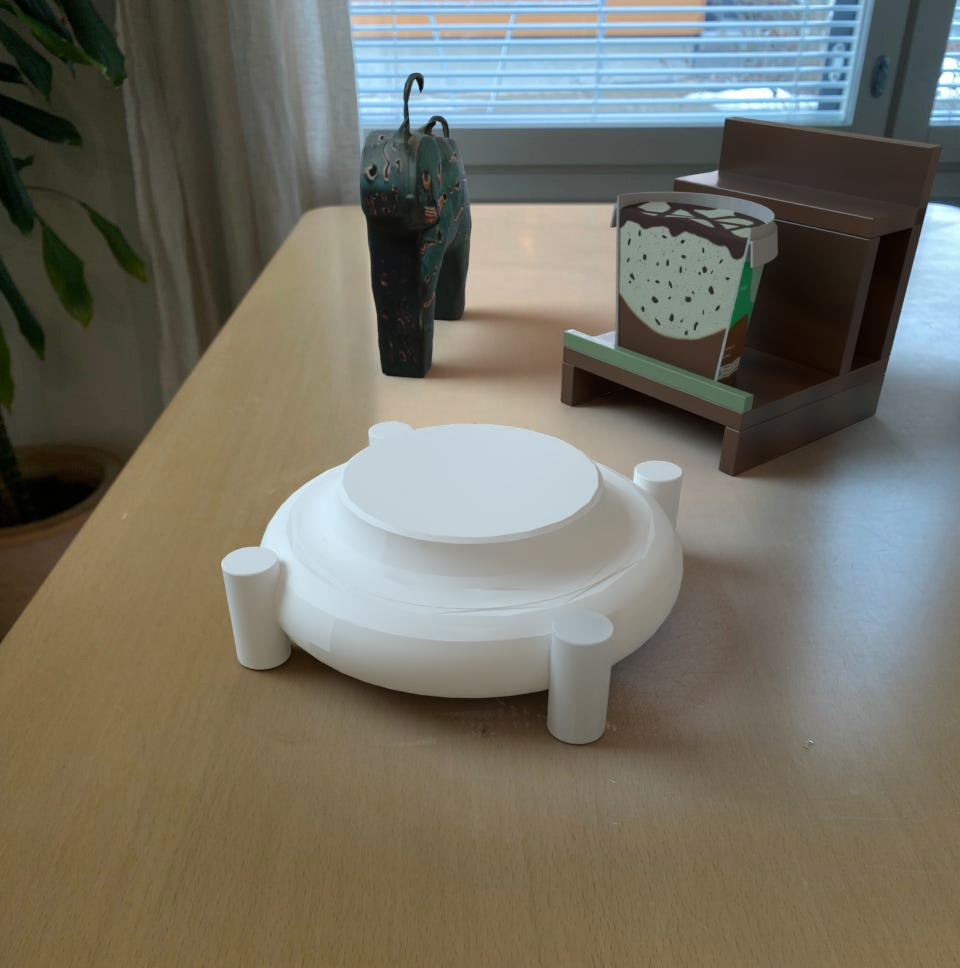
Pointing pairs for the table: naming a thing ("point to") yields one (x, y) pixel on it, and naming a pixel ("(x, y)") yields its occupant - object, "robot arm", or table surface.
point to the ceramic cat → (414, 236)
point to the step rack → (794, 289)
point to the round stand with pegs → (466, 569)
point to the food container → (689, 277)
